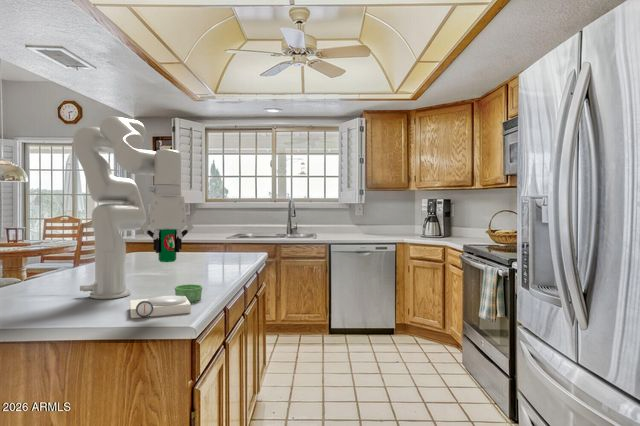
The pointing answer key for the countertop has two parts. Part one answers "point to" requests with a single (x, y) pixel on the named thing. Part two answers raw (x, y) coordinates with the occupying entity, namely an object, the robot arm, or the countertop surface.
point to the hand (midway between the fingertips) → (167, 251)
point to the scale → (159, 306)
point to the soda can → (167, 245)
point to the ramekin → (189, 291)
